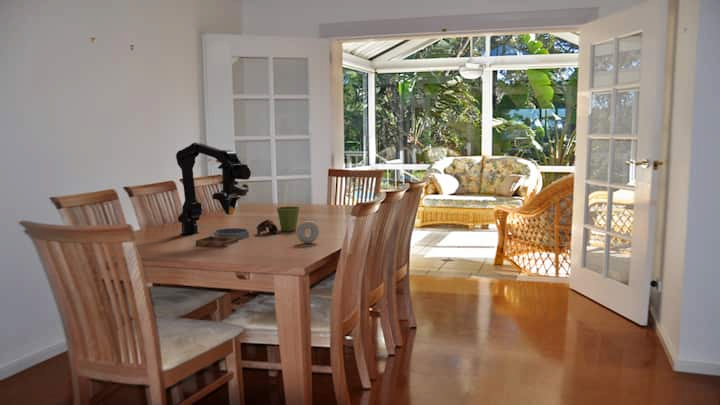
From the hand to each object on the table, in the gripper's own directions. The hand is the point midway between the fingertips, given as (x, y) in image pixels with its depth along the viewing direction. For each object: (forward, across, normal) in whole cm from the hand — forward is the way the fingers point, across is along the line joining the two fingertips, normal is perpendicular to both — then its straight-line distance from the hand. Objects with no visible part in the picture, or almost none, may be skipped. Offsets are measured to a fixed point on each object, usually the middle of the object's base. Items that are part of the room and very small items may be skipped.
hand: (229, 213), depth 270 cm
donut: (+12, +1, -38) cm, 40 cm away
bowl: (+12, +2, 0) cm, 12 cm away
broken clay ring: (+12, +15, -12) cm, 22 cm away
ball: (+1, 0, 0) cm, 1 cm away
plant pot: (+12, +29, -15) cm, 35 cm away
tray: (+12, -13, -2) cm, 18 cm away
